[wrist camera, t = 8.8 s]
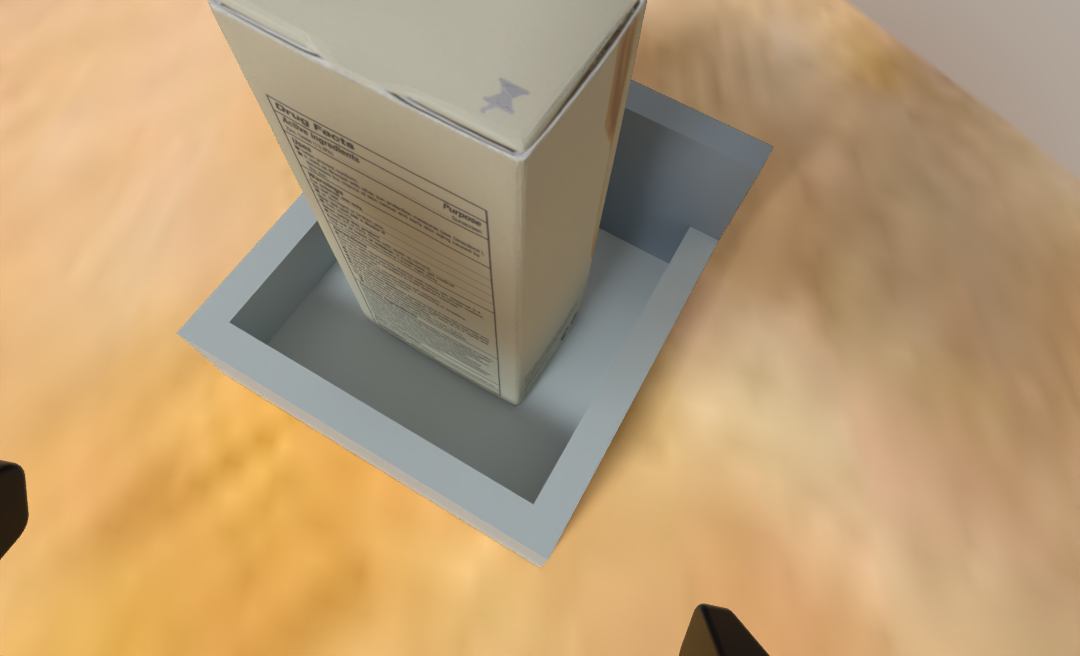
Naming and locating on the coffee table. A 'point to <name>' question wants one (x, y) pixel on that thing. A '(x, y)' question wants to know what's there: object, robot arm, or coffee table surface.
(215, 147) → the coffee table surface
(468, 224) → the skincare box
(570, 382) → the seat tray
